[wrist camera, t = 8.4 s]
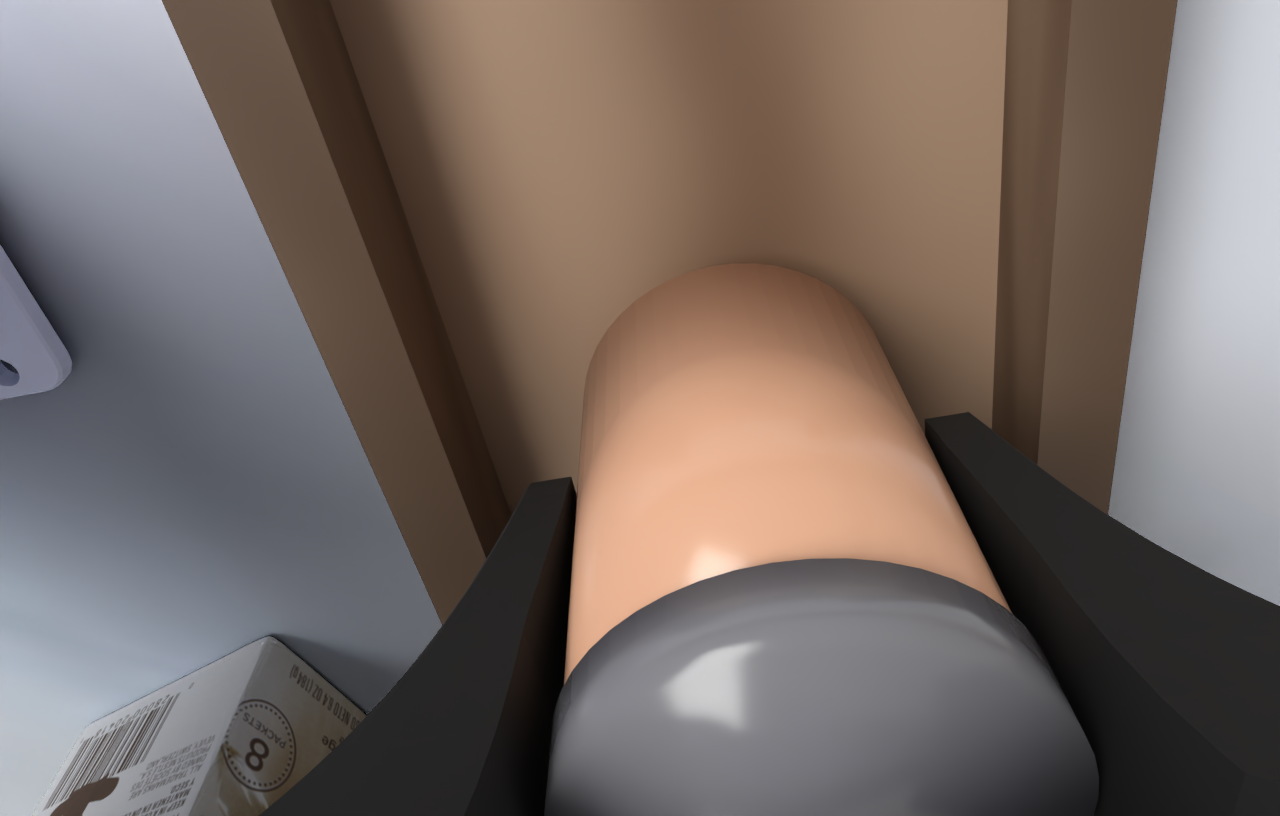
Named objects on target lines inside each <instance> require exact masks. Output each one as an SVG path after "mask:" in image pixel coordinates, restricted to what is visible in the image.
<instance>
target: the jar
mask: <svg viewBox="0 0 1280 816" xmlns="http://www.w3.org/2000/svg"><path fill="white" fill-rule="evenodd" d="M1098 794H1099V774H1098V769H1097V764H1096V759H1095V755H1094V753H1093V751H1092V748H1091V746H1090V744H1089V742H1088V740H1087V738H1086V736H1085V734H1084V732H1083V730H1082V728H1081V726H1080V724H1079V722H1078V720H1077V718H1076V716H1075V714H1074V712H1073V710H1072V708H1071V706H1070V704H1069V702H1068V700H1067V698H1066V696H1065V694H1064V692H1063V690H1062V688H1061V686H1060V684H1059V682H1058V680H1057V678H1056V676H1055V674H1054V672H1053V670H1052V668H1051V666H1050V664H1049V662H1048V660H1047V658H1046V657H1045V655H1044V653H1043V651H1042V649H1041V647H1040V645H1039V644H1038V642H1037V641H1036V640H1035V638H1034V637H1033V636H1032V634H1031V633H1030V632H1029V630H1028V629H1027V628H1026V626H1025V625H1024V624H1023V623H1022V622H1020V621H1019V620H1018V619H1017V618H1016V617H1015V616H1014V615H1013V614H1012V612H1011V610H1010V608H1009V606H1008V604H1007V602H1006V600H1005V598H1004V596H1003V594H1002V592H1001V590H1000V588H999V586H998V584H997V582H996V580H995V578H994V576H993V573H992V571H991V569H990V567H989V565H988V563H987V561H986V559H985V557H984V555H983V553H982V551H981V549H980V547H979V545H978V543H977V541H976V539H975V537H974V535H973V533H972V531H971V529H970V527H969V525H968V523H967V521H966V519H965V517H964V515H963V512H962V510H961V508H960V506H959V504H958V502H957V500H956V498H955V496H954V494H953V492H952V490H951V488H950V486H949V484H948V482H947V480H946V478H945V476H944V474H943V472H942V470H941V468H940V466H939V464H938V462H937V460H936V458H935V456H934V453H933V451H932V449H931V447H930V445H929V443H928V441H927V439H926V437H925V435H924V433H923V431H922V429H921V427H920V425H919V423H918V421H917V419H916V417H915V415H914V413H913V411H912V409H911V407H910V405H909V403H908V401H907V399H906V397H905V395H904V392H903V390H902V388H901V386H900V384H899V382H898V380H897V378H896V376H895V374H894V372H893V370H892V368H891V366H890V364H889V362H888V360H887V358H886V356H885V354H884V352H883V350H882V348H881V346H880V344H879V342H878V340H877V338H876V336H875V334H874V331H873V329H872V328H871V326H870V325H869V323H868V322H867V320H866V319H865V318H864V316H863V315H862V313H861V312H860V311H859V310H858V309H857V308H856V307H855V306H854V305H853V304H852V303H851V302H850V301H849V300H848V299H847V298H846V297H844V296H843V295H842V294H840V293H839V292H838V291H836V290H835V289H834V288H832V287H830V286H829V285H827V284H825V283H823V282H822V281H820V280H818V279H816V278H814V277H811V276H809V275H806V274H803V273H801V272H798V271H795V270H791V269H787V268H783V267H779V266H773V265H765V264H756V263H738V264H726V265H718V266H711V267H707V268H703V269H699V270H695V271H691V272H688V273H686V274H683V275H680V276H678V277H675V278H673V279H670V280H668V281H666V282H665V283H663V284H661V285H659V286H657V287H655V288H653V289H651V290H650V291H649V292H647V293H646V294H644V295H643V296H641V297H640V298H638V299H637V300H636V301H634V302H633V303H632V304H631V305H630V306H629V307H628V308H627V309H626V310H624V311H623V312H622V313H621V314H620V315H619V316H618V318H617V319H616V320H615V321H614V322H613V323H612V325H611V326H610V327H609V328H608V329H607V331H606V333H605V334H604V336H603V337H602V339H601V341H600V342H599V344H598V345H597V348H596V350H595V352H594V354H593V357H592V359H591V361H590V364H589V368H588V372H587V375H586V380H585V388H584V398H583V412H582V426H581V441H580V455H579V470H578V484H577V499H576V513H575V528H574V542H573V556H572V571H571V585H570V600H569V614H568V629H567V643H566V658H565V672H564V686H563V688H562V690H561V692H560V694H559V697H558V700H557V703H556V706H555V709H554V712H553V718H552V726H551V734H550V746H549V759H548V771H547V784H546V796H545V809H544V816H1094V813H1095V809H1096V805H1097V801H1098Z"/></svg>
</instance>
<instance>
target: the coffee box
mask: <svg viewBox="0 0 1280 816" xmlns="http://www.w3.org/2000/svg"><path fill="white" fill-rule="evenodd" d="M366 716H367V715H365V714H364V713H363V712H362V711H361V710H360V709H359V708H357V707H356V706H355V705H354V704H353V703H352V702H350V701H349V700H348V699H347V698H346V697H345V696H344V695H342V694H341V693H340V692H339V691H338V690H337V689H335V688H334V687H333V686H332V685H331V684H330V683H328V682H327V681H326V680H325V679H324V678H323V677H321V676H320V675H319V674H318V673H317V672H316V671H314V670H313V669H312V668H311V667H310V666H309V665H307V664H306V663H305V662H304V661H303V660H302V659H300V658H299V657H298V656H297V655H296V654H294V653H293V652H292V651H291V650H290V649H288V648H287V647H286V646H285V645H283V644H282V643H281V642H280V641H278V640H277V639H275V638H274V637H270V636H269V637H264V638H262V639H259V640H257V641H255V642H253V643H250V644H248V645H246V646H244V647H242V648H241V649H239V650H237V651H235V652H233V653H231V654H229V655H227V656H225V657H223V658H221V659H219V660H217V661H215V662H213V663H211V664H209V665H207V666H205V667H203V668H201V669H199V670H197V671H195V672H193V673H191V674H189V675H187V676H185V677H183V678H181V679H179V680H177V681H175V682H173V683H171V684H169V685H167V686H165V687H163V688H161V689H159V690H157V691H155V692H153V693H151V694H149V695H147V696H145V697H143V698H141V699H139V700H137V701H135V702H133V703H131V704H129V705H127V706H125V707H123V708H121V709H119V710H117V711H115V712H113V713H111V714H109V715H107V716H105V717H103V718H101V719H99V720H97V721H95V722H93V723H91V724H90V725H88V726H87V727H86V728H85V729H84V731H83V732H82V734H81V735H80V737H79V738H78V740H77V741H76V743H75V745H74V746H73V748H72V750H71V751H70V753H69V755H68V756H67V758H66V760H65V761H64V763H63V765H62V766H61V768H60V770H59V771H58V773H57V775H56V777H55V778H54V780H53V782H52V783H51V785H50V787H49V788H48V790H47V792H46V793H45V795H44V797H43V798H42V800H41V801H40V803H39V805H38V806H37V808H36V810H35V811H34V813H33V814H32V816H259V815H260V814H261V813H262V812H264V811H265V810H266V809H267V808H268V807H270V806H271V805H272V804H273V803H274V802H276V801H277V800H278V799H279V798H280V797H282V796H283V795H284V794H285V793H286V792H287V791H288V790H290V789H291V788H292V787H293V786H294V785H295V784H296V783H298V782H299V781H300V780H301V779H302V778H303V777H304V776H306V775H307V774H308V773H309V772H310V771H311V770H312V769H313V768H314V767H315V766H317V765H318V764H319V763H320V762H321V761H322V760H323V759H324V758H325V757H326V756H327V755H328V754H330V753H331V752H332V751H333V750H334V749H335V748H336V747H337V746H338V745H339V744H340V743H341V742H342V741H343V740H344V739H345V738H346V737H347V736H348V735H349V734H350V733H351V732H352V731H353V730H354V729H355V728H356V727H357V726H358V725H359V723H360V722H361V721H362V720H363V719H364V718H365V717H366Z"/></svg>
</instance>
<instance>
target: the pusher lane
mask: <svg viewBox="0 0 1280 816" xmlns="http://www.w3.org/2000/svg"><path fill="white" fill-rule="evenodd" d="M162 2H163V4H164V6H165V9H166V11H167V13H168V15H169V17H170V20H171V22H172V24H173V26H174V29H175V31H176V33H177V35H178V37H179V40H180V42H181V44H182V46H183V49H184V51H185V53H186V55H187V57H188V60H189V62H190V64H191V66H192V69H193V71H194V73H195V75H196V78H197V80H198V82H199V84H200V86H201V89H202V91H203V93H204V95H205V98H206V100H207V102H208V104H209V106H210V109H211V111H212V113H213V115H214V118H215V120H216V122H217V124H218V126H219V129H220V131H221V133H222V135H223V138H224V140H225V142H226V144H227V146H228V149H229V151H230V153H231V155H232V158H233V160H234V162H235V164H236V167H237V169H238V171H239V173H240V175H241V178H242V180H243V182H244V184H245V187H246V189H247V191H248V193H249V195H250V198H251V200H252V202H253V204H254V207H255V209H256V211H257V213H258V215H259V218H260V220H261V222H262V224H263V227H264V229H265V231H266V233H267V236H268V238H269V240H270V242H271V244H272V247H273V249H274V251H275V253H276V256H277V258H278V260H279V262H280V264H281V267H282V269H283V271H284V273H285V276H286V278H287V280H288V282H289V284H290V287H291V289H292V291H293V293H294V296H295V298H296V300H297V302H298V304H299V307H300V309H301V311H302V313H303V316H304V318H305V320H306V322H307V325H308V327H309V329H310V331H311V333H312V336H313V338H314V340H315V342H316V345H317V347H318V349H319V351H320V353H321V356H322V358H323V360H324V362H325V365H326V367H327V369H328V371H329V373H330V376H331V378H332V380H333V382H334V385H335V387H336V389H337V391H338V394H339V396H340V398H341V400H342V402H343V405H344V407H345V409H346V411H347V414H348V416H349V418H350V420H351V422H352V425H353V427H354V429H355V431H356V434H357V436H358V438H359V440H360V442H361V445H362V447H363V449H364V451H365V454H366V456H367V458H368V460H369V462H370V465H371V467H372V469H373V471H374V474H375V476H376V478H377V480H378V483H379V485H380V487H381V489H382V491H383V494H384V496H385V498H386V500H387V503H388V505H389V507H390V509H391V511H392V514H393V516H394V518H395V520H396V523H397V525H398V527H399V529H400V531H401V534H402V536H403V538H404V540H405V543H406V545H407V547H408V549H409V552H410V554H411V556H412V558H413V560H414V563H415V565H416V567H417V569H418V572H419V574H420V576H421V578H422V580H423V583H424V585H425V587H426V589H427V592H428V594H429V596H430V598H431V600H432V603H433V605H434V607H435V609H436V612H437V614H438V616H439V618H440V620H441V623H442V625H443V624H444V622H445V621H446V620H447V618H448V617H449V615H450V614H451V612H452V611H453V609H454V608H455V607H456V605H457V604H458V602H459V601H460V599H461V598H462V597H463V595H464V594H465V592H466V591H467V589H468V588H469V586H470V584H471V583H472V581H473V580H474V578H475V576H476V575H477V573H478V572H479V570H480V568H481V567H482V565H483V563H484V562H485V560H486V559H487V557H488V555H489V554H490V552H491V551H492V549H493V547H494V545H495V544H496V542H497V540H498V538H499V537H500V535H501V533H502V532H503V530H504V528H505V526H506V525H507V523H508V521H509V519H510V517H511V516H512V514H513V512H514V510H515V508H516V507H517V505H518V503H519V501H520V499H521V497H522V496H523V494H524V492H525V490H526V489H527V488H528V486H529V485H530V484H531V483H534V482H540V481H546V480H552V479H558V478H565V477H572V481H573V484H574V487H575V491H576V494H577V484H578V470H579V455H580V441H581V426H582V412H583V398H584V388H585V380H586V375H587V372H588V368H589V364H590V361H591V359H592V357H593V354H594V352H595V350H596V348H597V345H598V344H599V342H600V341H601V339H602V337H603V336H604V334H605V333H606V331H607V329H608V328H609V327H610V326H611V325H612V323H613V322H614V321H615V320H616V319H617V318H618V316H619V315H620V314H621V313H622V312H623V311H624V310H626V309H627V308H628V307H629V306H630V305H631V304H632V303H633V302H634V301H636V300H637V299H638V298H640V297H641V296H643V295H644V294H646V293H647V292H649V291H650V290H651V289H653V288H655V287H657V286H659V285H661V284H663V283H665V282H666V281H668V280H670V279H673V278H675V277H678V276H680V275H683V274H686V273H688V272H691V271H695V270H699V269H703V268H707V267H711V266H718V265H726V264H738V263H756V264H765V265H773V266H779V267H783V268H787V269H791V270H795V271H798V272H801V273H803V274H806V275H809V276H811V277H814V278H816V279H818V280H820V281H822V282H823V283H825V284H827V285H829V286H830V287H832V288H834V289H835V290H836V291H838V292H839V293H840V294H842V295H843V296H844V297H846V298H847V299H848V300H849V301H850V302H851V303H852V304H853V305H854V306H855V307H856V308H857V309H858V310H859V311H860V312H861V313H862V315H863V316H864V318H865V319H866V320H867V322H868V323H869V325H870V326H871V328H872V329H873V331H874V334H875V336H876V338H877V340H878V342H879V344H880V346H881V348H882V350H883V352H884V354H885V356H886V358H887V360H888V362H889V364H890V366H891V368H892V370H893V372H894V374H895V376H896V378H897V380H898V382H899V384H900V386H901V388H902V390H903V392H904V395H905V397H906V399H907V401H908V403H909V405H910V407H911V409H912V411H913V413H914V415H915V417H916V419H917V421H918V423H919V425H920V427H921V429H922V431H923V433H924V435H925V419H928V418H935V417H941V416H947V415H953V414H959V413H965V412H969V413H971V414H972V415H973V416H975V417H976V418H977V419H979V420H980V421H981V422H983V423H984V424H985V425H987V426H988V427H989V428H990V429H992V430H993V431H994V432H995V433H997V434H998V435H999V436H1000V437H1002V438H1003V439H1004V440H1006V441H1007V442H1008V443H1009V444H1011V445H1012V446H1013V447H1014V448H1016V449H1017V450H1018V451H1020V452H1021V453H1022V454H1023V455H1025V456H1026V457H1027V458H1029V459H1030V460H1031V461H1033V462H1034V463H1035V464H1037V465H1038V466H1039V467H1040V468H1042V469H1043V470H1045V471H1046V472H1047V473H1049V474H1050V475H1051V476H1053V477H1054V478H1055V479H1057V480H1058V481H1060V482H1061V483H1062V484H1064V485H1065V486H1067V487H1068V488H1069V489H1071V490H1072V491H1074V492H1075V493H1076V494H1078V495H1079V496H1081V497H1082V498H1083V499H1085V500H1086V501H1088V502H1089V503H1091V504H1092V505H1094V506H1095V507H1097V508H1098V509H1099V510H1101V511H1103V512H1104V513H1106V514H1107V515H1108V509H1109V502H1110V494H1111V487H1112V480H1113V472H1114V465H1115V458H1116V450H1117V443H1118V435H1119V428H1120V421H1121V413H1122V406H1123V398H1124V391H1125V384H1126V376H1127V369H1128V361H1129V354H1130V347H1131V339H1132V332H1133V325H1134V317H1135V310H1136V302H1137V295H1138V288H1139V280H1140V273H1141V265H1142V258H1143V251H1144V243H1145V236H1146V229H1147V221H1148V214H1149V206H1150V199H1151V192H1152V184H1153V177H1154V169H1155V162H1156V155H1157V147H1158V140H1159V132H1160V125H1161V118H1162V110H1163V103H1164V96H1165V88H1166V81H1167V73H1168V66H1169V59H1170V51H1171V44H1172V36H1173V29H1174V22H1175V14H1176V7H1177V0H162Z"/></svg>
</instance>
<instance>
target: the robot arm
mask: <svg viewBox="0 0 1280 816" xmlns="http://www.w3.org/2000/svg"><path fill="white" fill-rule="evenodd" d="M1 360H3V361H5V362H7V363H10V364H11V365H12V366H13V367H14V368H15V369H16V370H17V371H18V374H16V373H14V372H12V371H10V370H8V369H7V368H6V367H5V366H4V365H3V364H2V363H1ZM71 372H72V360H71V358H70V355H69V353H68V351H67V350H66V348H65V346H64V345H63V343H62V342H61V340H60V339H59V337H58V335H57V334H56V332H55V331H54V329H53V327H52V326H51V324H50V323H49V321H48V320H47V318H46V316H45V315H44V313H43V312H42V310H41V308H40V307H39V305H38V304H37V302H36V301H35V299H34V297H33V296H32V294H31V293H30V291H29V289H28V288H27V286H26V285H25V283H24V282H23V280H22V278H21V277H20V275H19V274H18V272H17V270H16V269H15V267H14V266H13V264H12V263H11V261H10V259H9V258H8V256H7V255H6V253H5V251H4V250H3V248H2V247H1V245H0V400H1V399H7V398H13V397H18V396H24V395H29V394H35V393H41V392H46V391H50V390H52V389H55V388H57V387H58V386H59V385H60V384H61V383H62V382H63V381H64V380H65V379H66V378H67V377H68V375H69V374H70V373H71ZM925 437H926V439H927V441H928V443H929V445H930V447H931V449H932V451H933V453H934V456H935V458H936V460H937V462H938V464H939V466H940V468H941V470H942V472H943V474H944V476H945V478H946V480H947V482H948V484H949V486H950V488H951V490H952V492H953V494H954V496H955V498H956V500H957V502H958V504H959V506H960V508H961V510H962V512H963V515H964V517H965V519H966V521H967V523H968V525H969V527H970V529H971V531H972V533H973V535H974V537H975V539H976V541H977V543H978V545H979V547H980V549H981V551H982V553H983V555H984V557H985V559H986V561H987V563H988V565H989V567H990V569H991V571H992V573H993V576H994V578H995V580H996V582H997V584H998V586H999V588H1000V590H1001V592H1002V594H1003V596H1004V598H1005V600H1006V602H1007V604H1008V606H1009V608H1010V610H1011V612H1012V614H1013V615H1014V616H1015V617H1016V618H1017V619H1018V620H1019V621H1020V622H1022V623H1023V624H1024V625H1025V626H1026V628H1027V629H1028V630H1029V632H1030V633H1031V634H1032V636H1033V637H1034V638H1035V640H1036V641H1037V642H1038V644H1039V645H1040V647H1041V649H1042V651H1043V653H1044V655H1045V657H1046V658H1047V660H1048V662H1049V664H1050V666H1051V668H1052V670H1053V672H1054V674H1055V676H1056V678H1057V680H1058V682H1059V684H1060V686H1061V688H1062V690H1063V692H1064V694H1065V696H1066V698H1067V700H1068V702H1069V704H1070V706H1071V708H1072V710H1073V712H1074V714H1075V716H1076V718H1077V720H1078V722H1079V724H1080V726H1081V728H1082V730H1083V732H1084V734H1085V736H1086V738H1087V740H1088V742H1089V744H1090V746H1091V748H1092V751H1093V753H1094V755H1095V759H1096V764H1097V769H1098V774H1099V794H1098V801H1097V805H1096V809H1095V813H1094V816H1280V606H1278V605H1276V604H1273V603H1271V602H1269V601H1267V600H1264V599H1262V598H1260V597H1258V596H1255V595H1253V594H1251V593H1249V592H1247V591H1244V590H1242V589H1240V588H1238V587H1236V586H1234V585H1232V584H1230V583H1228V582H1226V581H1224V580H1222V579H1220V578H1218V577H1216V576H1214V575H1212V574H1210V573H1208V572H1206V571H1204V570H1202V569H1200V568H1199V567H1197V566H1195V565H1193V564H1191V563H1189V562H1187V561H1185V560H1184V559H1182V558H1180V557H1178V556H1176V555H1174V554H1172V553H1170V552H1169V551H1167V550H1165V549H1163V548H1161V547H1160V546H1158V545H1156V544H1154V543H1153V542H1151V541H1149V540H1148V539H1146V538H1144V537H1142V536H1141V535H1139V534H1137V533H1136V532H1134V531H1133V530H1131V529H1130V528H1128V527H1126V526H1125V525H1123V524H1122V523H1120V522H1118V521H1117V520H1115V519H1114V518H1112V517H1110V516H1109V515H1107V514H1106V513H1104V512H1103V511H1101V510H1099V509H1098V508H1097V507H1095V506H1094V505H1092V504H1091V503H1089V502H1088V501H1086V500H1085V499H1083V498H1082V497H1081V496H1079V495H1078V494H1076V493H1075V492H1074V491H1072V490H1071V489H1069V488H1068V487H1067V486H1065V485H1064V484H1062V483H1061V482H1060V481H1058V480H1057V479H1055V478H1054V477H1053V476H1051V475H1050V474H1049V473H1047V472H1046V471H1045V470H1043V469H1042V468H1040V467H1039V466H1038V465H1037V464H1035V463H1034V462H1033V461H1031V460H1030V459H1029V458H1027V457H1026V456H1025V455H1023V454H1022V453H1021V452H1020V451H1018V450H1017V449H1016V448H1014V447H1013V446H1012V445H1011V444H1009V443H1008V442H1007V441H1006V440H1004V439H1003V438H1002V437H1000V436H999V435H998V434H997V433H995V432H994V431H993V430H992V429H990V428H989V427H988V426H987V425H985V424H984V423H983V422H981V421H980V420H979V419H977V418H976V417H975V416H973V415H972V414H971V413H969V412H965V413H959V414H953V415H947V416H941V417H935V418H928V419H925ZM576 499H577V494H576V491H575V487H574V484H573V481H572V477H565V478H558V479H552V480H546V481H540V482H534V483H531V484H530V485H529V486H528V488H527V489H526V490H525V492H524V494H523V496H522V497H521V499H520V501H519V503H518V505H517V507H516V508H515V510H514V512H513V514H512V516H511V517H510V519H509V521H508V523H507V525H506V526H505V528H504V530H503V532H502V533H501V535H500V537H499V538H498V540H497V542H496V544H495V545H494V547H493V549H492V551H491V552H490V554H489V555H488V557H487V559H486V560H485V562H484V563H483V565H482V567H481V568H480V570H479V572H478V573H477V575H476V576H475V578H474V580H473V581H472V583H471V584H470V586H469V588H468V589H467V591H466V592H465V594H464V595H463V597H462V598H461V599H460V601H459V602H458V604H457V605H456V607H455V608H454V609H453V611H452V612H451V614H450V615H449V617H448V618H447V620H446V621H445V622H444V624H443V625H442V627H441V628H440V630H439V631H438V632H437V634H436V635H435V637H434V638H433V639H432V640H431V642H430V643H429V644H428V646H427V647H426V648H425V650H424V651H423V652H422V654H421V655H420V656H419V657H418V659H417V660H416V661H415V662H414V664H413V665H412V666H411V667H410V668H409V670H408V671H407V672H406V673H405V674H404V676H403V677H402V678H401V679H400V680H399V682H398V683H397V684H396V685H395V686H394V688H393V689H392V690H391V691H390V692H389V693H388V694H387V695H386V697H385V698H384V699H383V700H382V701H381V702H380V703H379V704H378V705H377V706H376V707H375V708H374V709H373V710H372V711H371V712H370V713H369V714H368V715H367V716H366V717H365V718H364V719H363V720H362V721H361V722H360V723H359V725H358V726H357V727H356V728H355V729H354V730H353V731H352V732H351V733H350V734H349V735H348V736H347V737H346V738H345V739H344V740H343V741H342V742H341V743H340V744H339V745H338V746H337V747H336V748H335V749H334V750H333V751H332V752H331V753H330V754H328V755H327V756H326V757H325V758H324V759H323V760H322V761H321V762H320V763H319V764H318V765H317V766H315V767H314V768H313V769H312V770H311V771H310V772H309V773H308V774H307V775H306V776H304V777H303V778H302V779H301V780H300V781H299V782H298V783H296V784H295V785H294V786H293V787H292V788H291V789H290V790H288V791H287V792H286V793H285V794H284V795H283V796H282V797H280V798H279V799H278V800H277V801H276V802H274V803H273V804H272V805H271V806H270V807H268V808H267V809H266V810H265V811H264V812H262V813H261V814H260V815H259V816H544V809H545V796H546V784H547V771H548V759H549V746H550V734H551V726H552V718H553V712H554V709H555V706H556V703H557V700H558V697H559V694H560V692H561V690H562V688H563V686H564V672H565V658H566V643H567V629H568V614H569V600H570V585H571V571H572V556H573V542H574V528H575V513H576Z"/></svg>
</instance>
